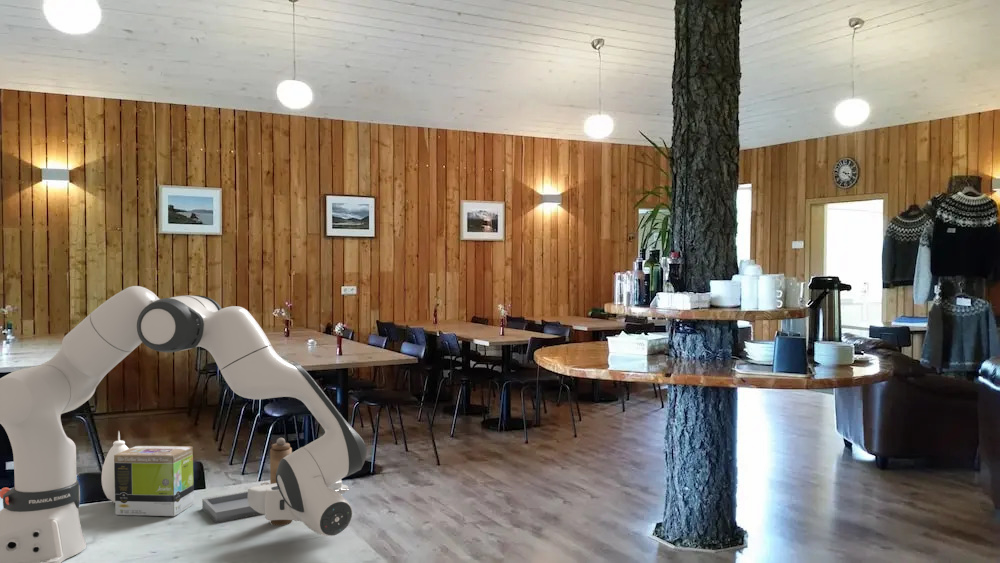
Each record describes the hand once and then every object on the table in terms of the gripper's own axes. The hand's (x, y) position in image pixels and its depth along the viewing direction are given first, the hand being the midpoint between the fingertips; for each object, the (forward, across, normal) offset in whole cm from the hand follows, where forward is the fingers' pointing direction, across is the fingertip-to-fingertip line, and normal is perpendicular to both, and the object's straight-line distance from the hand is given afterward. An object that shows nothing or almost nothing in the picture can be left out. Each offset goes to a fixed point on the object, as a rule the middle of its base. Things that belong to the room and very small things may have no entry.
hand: (284, 482), depth 175 cm
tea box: (+28, +22, +10) cm, 37 cm away
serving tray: (+17, +6, +10) cm, 20 cm away
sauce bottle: (+40, +28, +10) cm, 49 cm away
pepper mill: (+3, 0, +10) cm, 10 cm away
